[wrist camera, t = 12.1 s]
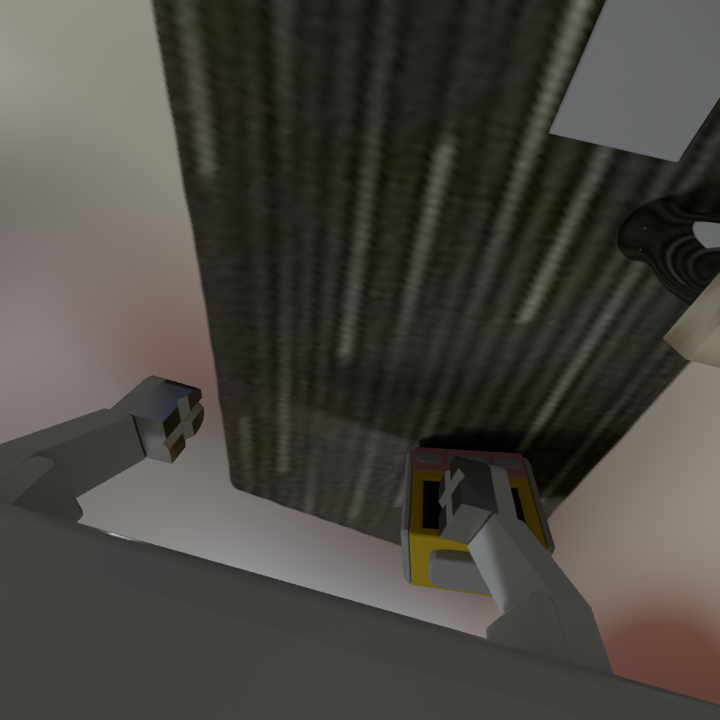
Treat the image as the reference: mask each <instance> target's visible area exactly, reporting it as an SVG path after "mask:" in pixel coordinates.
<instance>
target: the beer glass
mask: <svg viewBox="0 0 720 720" xmlns="http://www.w3.org/2000/svg"><path fill="white" fill-rule="evenodd" d="M617 243H618V248H619V250H620V251H621V253H622V254H623V255H624V256H625V257H627V258H629V259H632V260H635V261H639V262H643V263H645V264H647V265H648V267H649V268H650V269H651V271H652V272H653V273H654V275H655V276H656V277H657V278H658V280H659V281H660V282H661V283H662V284H663V285H664V286H665V288H666V289H667V290H668V291H670V292H671V293H672V294H673V295H675V296H676V297H677V298H679V299H680V300H682V301H683V302H685V303H686V304H688V305H690V306H691V305H692V304H693V303H694V301H695V300H696V299H697V298H698V297H699V296H700V295H701V293H702V292H703V291H704V290H705V289H706V288H707V286H708V285H709V284H710V283H711V282H712V281H713V279H714V278H715V277H716V276H717V275H718V274H719V272H720V213H700V212H692V211H690V210H689V209H688V208H687V207H685V206H684V205H683V204H681V203H679V202H677V201H674V200H657V201H653V202H650V203H648V204H645V205H644V206H642V207H640V208H638V209H637V210H636V211H634V212H633V213H632V214H631V215H630V216H629V217H628V218H627V219H626V220H625V222H624V223H623V225H622V226H621V228H620V231H619V233H618V238H617Z"/></svg>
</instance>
